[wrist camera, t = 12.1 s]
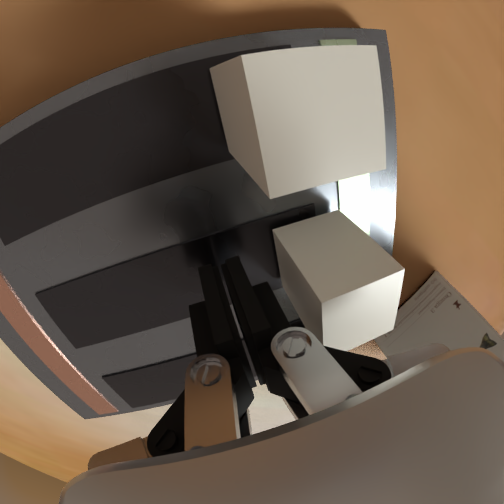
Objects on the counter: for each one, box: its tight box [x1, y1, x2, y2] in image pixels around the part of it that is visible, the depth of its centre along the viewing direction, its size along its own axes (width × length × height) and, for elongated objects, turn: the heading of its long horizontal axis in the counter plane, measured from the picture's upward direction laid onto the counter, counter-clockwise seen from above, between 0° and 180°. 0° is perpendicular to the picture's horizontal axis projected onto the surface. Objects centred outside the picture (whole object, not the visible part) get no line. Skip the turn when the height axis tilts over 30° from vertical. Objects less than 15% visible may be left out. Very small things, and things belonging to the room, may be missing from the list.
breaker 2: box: [272, 210, 405, 351], centre depth 11 cm, size 3×3×4 cm
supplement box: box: [374, 271, 504, 362], centre depth 17 cm, size 7×7×13 cm
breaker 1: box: [209, 45, 386, 199], centre depth 7 cm, size 3×3×4 cm
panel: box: [0, 28, 397, 419], centre depth 13 cm, size 18×22×2 cm
